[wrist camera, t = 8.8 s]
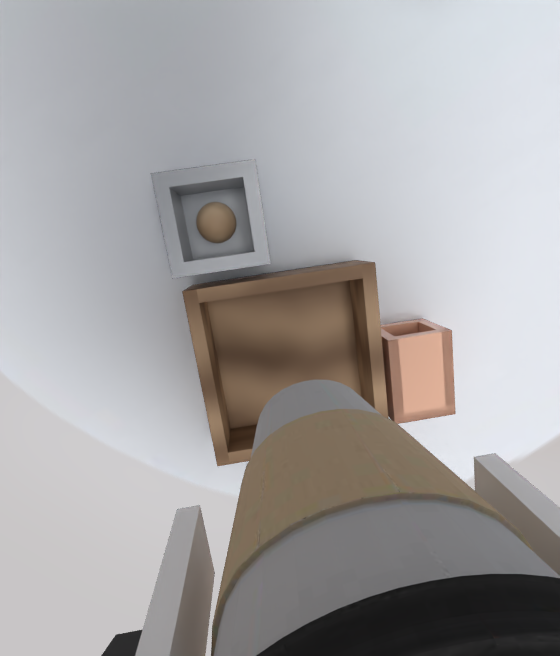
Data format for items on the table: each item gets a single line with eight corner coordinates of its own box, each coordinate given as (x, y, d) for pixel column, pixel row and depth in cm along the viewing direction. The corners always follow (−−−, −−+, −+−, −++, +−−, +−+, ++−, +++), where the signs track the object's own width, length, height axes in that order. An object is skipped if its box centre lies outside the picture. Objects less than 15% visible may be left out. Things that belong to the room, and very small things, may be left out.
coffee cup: (292, 545, 20) (401, 1360, 5) (179, 415, 18) (-141, 1152, 3) (439, 445, 19) (1022, 1060, 5) (339, 300, 17) (813, 583, 3)
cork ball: (195, 207, 29) (189, 202, 26) (233, 201, 29) (231, 196, 26) (202, 245, 30) (197, 245, 27) (239, 240, 30) (238, 239, 27)
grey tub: (167, 185, 30) (150, 173, 25) (254, 173, 30) (255, 159, 25) (184, 273, 31) (172, 278, 26) (267, 261, 31) (270, 263, 26)
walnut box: (193, 284, 31) (182, 291, 26) (356, 260, 32) (374, 262, 27) (222, 435, 34) (217, 466, 29) (370, 410, 35) (390, 436, 30)
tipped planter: (368, 326, 33) (388, 340, 28) (422, 318, 33) (451, 330, 29) (374, 399, 35) (395, 424, 30) (426, 390, 35) (455, 413, 30)
